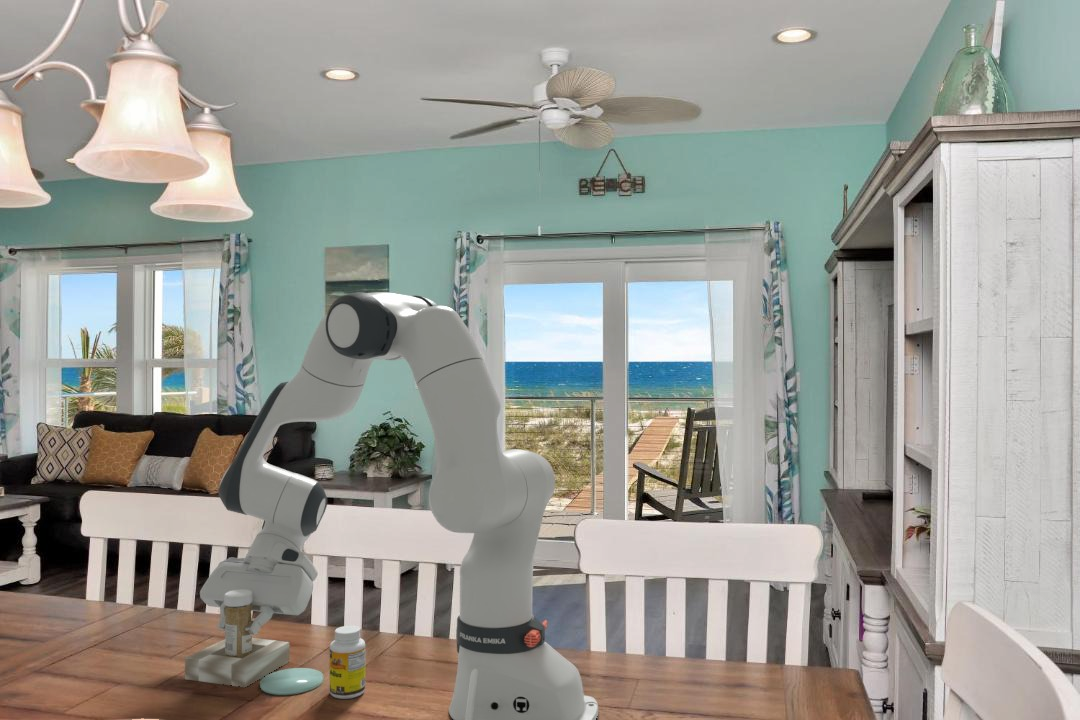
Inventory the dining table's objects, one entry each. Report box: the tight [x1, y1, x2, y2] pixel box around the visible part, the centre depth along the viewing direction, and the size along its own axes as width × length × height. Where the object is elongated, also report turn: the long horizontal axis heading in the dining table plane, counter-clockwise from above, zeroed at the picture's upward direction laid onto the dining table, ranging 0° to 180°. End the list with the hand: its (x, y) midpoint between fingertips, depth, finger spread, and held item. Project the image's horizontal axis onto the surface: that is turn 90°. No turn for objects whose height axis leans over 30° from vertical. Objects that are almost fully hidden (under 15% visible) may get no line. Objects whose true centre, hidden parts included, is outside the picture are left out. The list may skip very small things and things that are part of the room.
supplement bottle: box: [329, 625, 366, 700], centre depth 132 cm, size 6×6×10 cm
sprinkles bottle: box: [224, 589, 253, 658], centre depth 142 cm, size 5×5×14 cm
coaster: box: [259, 667, 324, 696], centre depth 137 cm, size 10×10×1 cm
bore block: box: [184, 637, 290, 688], centre depth 142 cm, size 12×12×4 cm
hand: (236, 631), depth 142 cm, fingers closed on sprinkles bottle, 4 cm apart
